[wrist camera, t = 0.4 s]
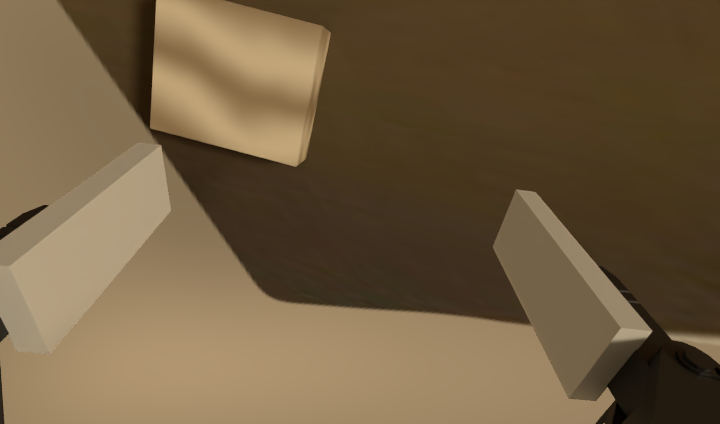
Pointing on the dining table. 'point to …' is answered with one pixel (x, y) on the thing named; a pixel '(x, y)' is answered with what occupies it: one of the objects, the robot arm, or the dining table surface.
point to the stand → (237, 77)
